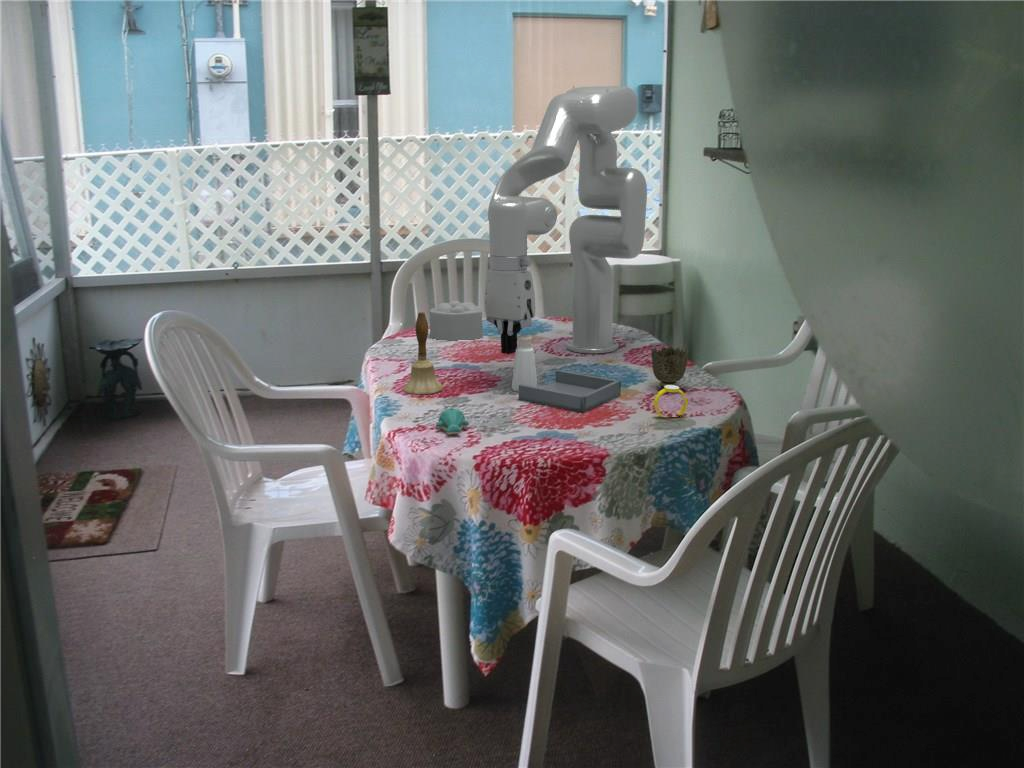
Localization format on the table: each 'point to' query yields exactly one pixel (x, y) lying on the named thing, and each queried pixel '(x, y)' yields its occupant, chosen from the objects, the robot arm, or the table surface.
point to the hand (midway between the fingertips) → (509, 352)
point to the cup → (669, 365)
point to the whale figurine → (452, 421)
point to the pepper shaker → (524, 364)
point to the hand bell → (422, 364)
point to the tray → (572, 391)
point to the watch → (670, 389)
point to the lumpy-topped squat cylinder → (456, 321)
